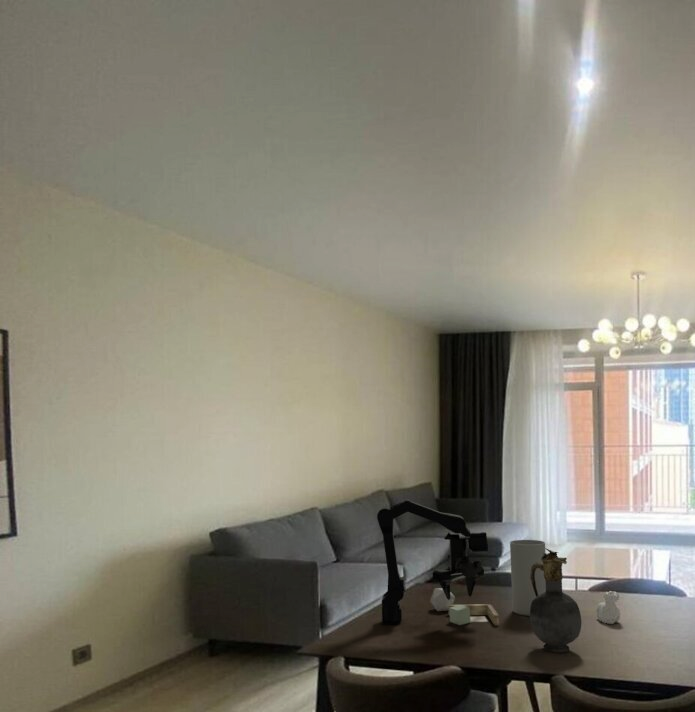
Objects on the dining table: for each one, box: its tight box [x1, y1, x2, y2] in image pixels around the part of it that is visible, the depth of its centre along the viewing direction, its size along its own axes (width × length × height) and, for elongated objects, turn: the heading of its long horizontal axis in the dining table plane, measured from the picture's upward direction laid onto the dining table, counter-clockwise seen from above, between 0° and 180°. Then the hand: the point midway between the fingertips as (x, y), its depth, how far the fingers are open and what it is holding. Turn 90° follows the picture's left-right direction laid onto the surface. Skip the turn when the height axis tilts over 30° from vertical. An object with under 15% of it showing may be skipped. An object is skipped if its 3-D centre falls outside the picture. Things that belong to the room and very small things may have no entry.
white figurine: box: [595, 590, 621, 625], centre depth 268 cm, size 12×8×11 cm
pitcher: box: [529, 547, 582, 654], centre depth 240 cm, size 11×19×30 cm, turn 22°
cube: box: [448, 604, 472, 626], centre depth 270 cm, size 5×5×5 cm
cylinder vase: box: [509, 539, 546, 617], centre depth 284 cm, size 12×12×25 cm
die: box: [429, 587, 456, 612], centre depth 290 cm, size 8×9×10 cm
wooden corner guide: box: [447, 603, 500, 627], centre depth 274 cm, size 15×16×4 cm
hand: (459, 598), depth 271 cm, fingers open, 9 cm apart
